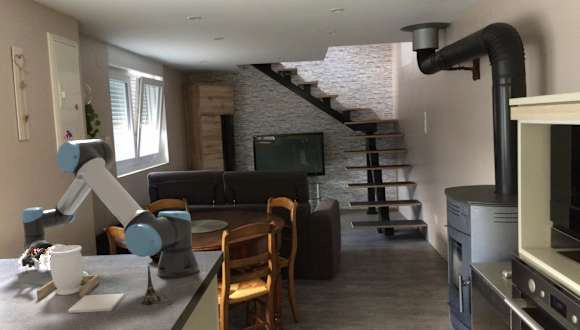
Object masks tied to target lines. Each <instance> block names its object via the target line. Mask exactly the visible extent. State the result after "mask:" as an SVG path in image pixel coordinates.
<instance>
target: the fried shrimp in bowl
mask: <svg viewBox="0 0 580 330" xmlns="http://www.w3.org/2000/svg"><path fill="white" fill-rule="evenodd" d="M160 256H161V251H160V252H158V253H156V254H154V255H151V256H148V257H149V258H150V259H151V261H152V262H153V263H156V264H159V260H160Z"/></svg>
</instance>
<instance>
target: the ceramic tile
mask: <svg viewBox="0 0 580 330" xmlns="http://www.w3.org/2000/svg"><path fill="white" fill-rule="evenodd" d="M124 297H125V293H109V294H108V293H107V294H106V293H105V294H88V295H87V294H86V295H85V296H84V297H80V299H79V300H78V301H76V303H74V304H73V305H72V306H71V307H70V308H69V309H68V310H67V313H68V314H70V313H71V314H72V313H73V314H74V313H94V312H111V311H112V310H113V309H114V308H115V307H116V306H117V305H118V304H119V302H121V300H123V298H124Z"/></svg>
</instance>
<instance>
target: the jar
mask: <svg viewBox="0 0 580 330" xmlns="http://www.w3.org/2000/svg"><path fill="white" fill-rule="evenodd" d="M82 249H83V247H82V246H81V245H78V244H77V245H76V244H75V245H74V244H72V245H71V244H69V245H63V246H58V247H55V248H54V249H51V250H49V255H51V258H50V260H49V269H50V274H51V277H52V280H53V282H54V285H55V286H56V289H55V290H56V291H55V294H56V295H58V296H68V295H72V294H76V293H79V288H80V287H82V286H83V285H82V284H81V282H82V278H83V275H84V260H83V255H82V253H81V252H82ZM80 251H81V252H80ZM80 284H81V285H80Z"/></svg>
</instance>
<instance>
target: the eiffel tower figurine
mask: <svg viewBox="0 0 580 330" xmlns="http://www.w3.org/2000/svg"><path fill="white" fill-rule="evenodd" d="M147 263H148V264H147V267H146V268H147V287H146V291H145V294H144V297H143V299H142V301H141V303H140V304H139V306H148V307H149V306H151V307H152V306H153V307H156V306H157V305H158V304H159V303H161V302H162V301H166V302H167V301H168V302H169V303H168V304H167V305H166V306H168V307H173V306H176V304H175V303H174V302H173V301H171V300H170V299H169V298H168V297H167V295H164V294H158V292H157V291H156V290H155V288H154V285H153V282H152V281H153V280H152V276H151V266H150V265H149V262H147ZM140 298H142V296H138V297H134V298H132V299H131V300H138V299H140Z"/></svg>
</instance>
